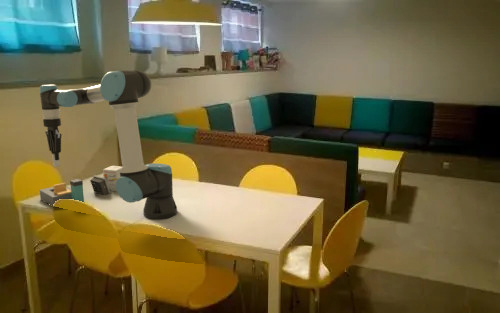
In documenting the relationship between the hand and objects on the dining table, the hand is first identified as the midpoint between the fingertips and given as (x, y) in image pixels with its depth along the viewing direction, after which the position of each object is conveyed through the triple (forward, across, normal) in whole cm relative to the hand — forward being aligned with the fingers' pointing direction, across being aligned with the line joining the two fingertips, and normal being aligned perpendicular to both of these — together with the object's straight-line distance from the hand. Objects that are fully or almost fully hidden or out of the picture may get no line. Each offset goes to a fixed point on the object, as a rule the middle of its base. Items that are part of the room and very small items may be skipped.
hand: (56, 166), depth 209 cm
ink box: (+18, -1, -29) cm, 34 cm away
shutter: (+13, -4, 0) cm, 13 cm away
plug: (+18, -11, -4) cm, 21 cm away
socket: (+18, +1, 0) cm, 18 cm away
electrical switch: (+18, -3, -20) cm, 27 cm away
